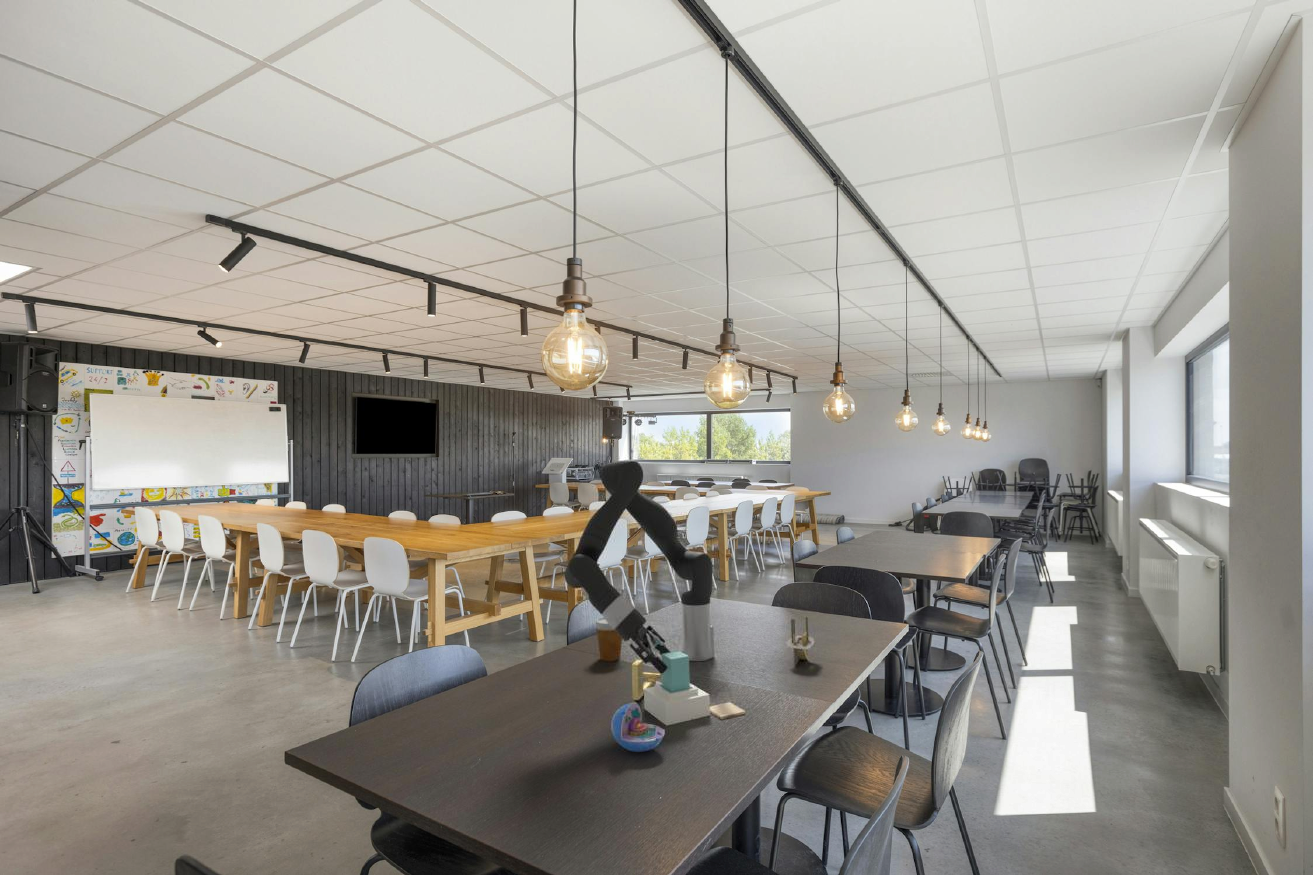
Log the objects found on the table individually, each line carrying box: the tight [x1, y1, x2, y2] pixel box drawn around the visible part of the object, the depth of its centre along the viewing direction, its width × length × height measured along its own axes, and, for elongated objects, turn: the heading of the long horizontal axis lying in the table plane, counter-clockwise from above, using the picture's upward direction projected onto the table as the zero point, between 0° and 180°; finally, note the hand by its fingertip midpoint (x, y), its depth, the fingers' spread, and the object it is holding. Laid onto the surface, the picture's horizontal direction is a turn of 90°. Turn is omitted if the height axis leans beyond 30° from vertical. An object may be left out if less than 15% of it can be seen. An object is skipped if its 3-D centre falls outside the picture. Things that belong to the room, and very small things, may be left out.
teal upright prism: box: [661, 650, 691, 693], centre depth 161 cm, size 5×5×9 cm
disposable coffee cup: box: [594, 617, 623, 662], centre depth 206 cm, size 10×10×12 cm
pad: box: [710, 701, 746, 720], centre depth 160 cm, size 7×7×1 cm
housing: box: [643, 683, 711, 726], centre depth 160 cm, size 12×12×6 cm
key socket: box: [643, 680, 662, 687], centre depth 179 cm, size 6×6×1 cm
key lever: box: [631, 659, 662, 701], centre depth 174 cm, size 14×5×9 cm, turn 161°
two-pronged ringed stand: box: [785, 616, 815, 667], centre depth 197 cm, size 21×25×14 cm
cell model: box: [610, 701, 666, 753], centre depth 140 cm, size 10×12×10 cm
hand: (668, 665), depth 161 cm, fingers open, 8 cm apart
